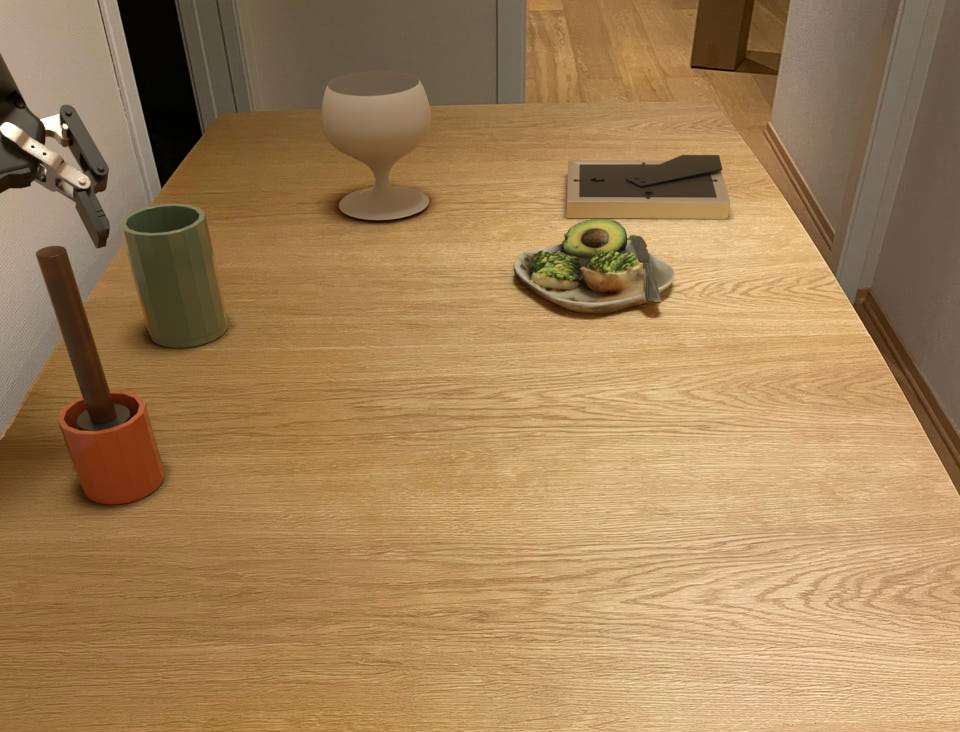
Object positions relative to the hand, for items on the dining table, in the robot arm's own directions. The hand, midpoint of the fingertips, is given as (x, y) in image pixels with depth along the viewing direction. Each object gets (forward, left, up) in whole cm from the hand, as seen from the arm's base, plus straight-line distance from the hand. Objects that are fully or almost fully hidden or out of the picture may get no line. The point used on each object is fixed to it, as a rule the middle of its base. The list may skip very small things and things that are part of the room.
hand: (48, 257), depth 77 cm
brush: (+1, -1, -19) cm, 19 cm away
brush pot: (+1, -1, -19) cm, 20 cm away
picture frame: (+62, +58, -20) cm, 87 cm away
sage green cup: (+4, +28, -19) cm, 34 cm away
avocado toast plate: (+50, +33, -20) cm, 63 cm away
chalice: (+27, +61, -20) cm, 69 cm away
